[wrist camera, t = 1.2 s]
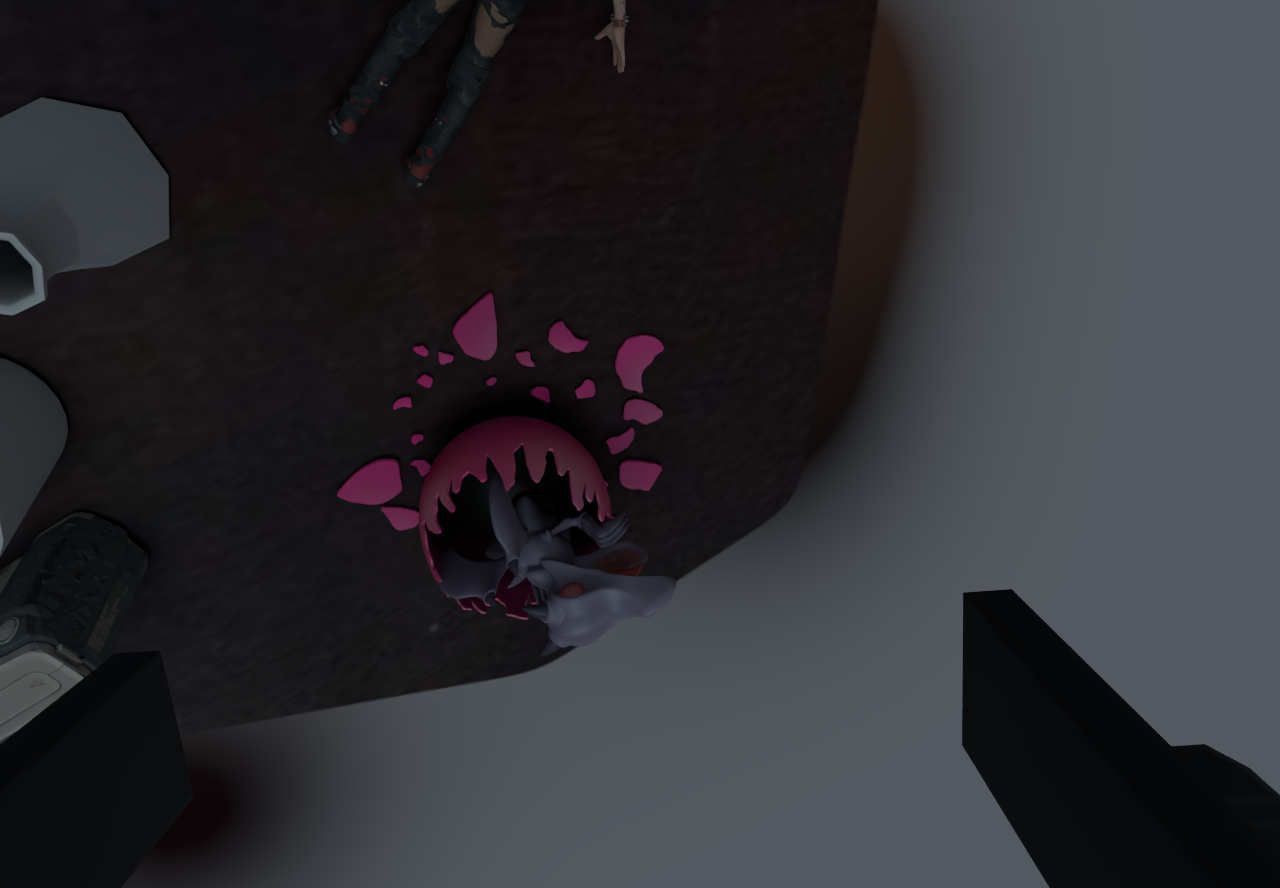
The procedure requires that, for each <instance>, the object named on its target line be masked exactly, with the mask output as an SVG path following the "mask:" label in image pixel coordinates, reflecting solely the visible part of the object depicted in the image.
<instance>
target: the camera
mask: <svg viewBox="0 0 1280 888" xmlns="http://www.w3.org/2000/svg"><path fill="white" fill-rule="evenodd" d="M127 537H128V532H127V531H126V530H124V529H122V528H121V527H119V526H118V525H116V524H115V525H114V524H113V523H111V522H108V521H106V520H104V519H102V518H100V517H98V516H96V515H94V514H90V513H86V512H75V513H72V514H70V515H69V516H67V517H65V518H64V519H62V520H61V521H59V522H57V523H56V524H54V525H53V526H51V527H49V528H48V529H46V530H45V531H43V532H42V533H41V534H39V535H38V536H37V537H36V538H35V539H34V541H33V542H32V543H31V545H30V547H29V548H28V550H27V551H26V553H25V554H24V555H23V556H21V557H20V558H18V559H17V560H15V561H13V562H12V563H10V564H9V565H7V566H6V567H4V568H2V569H1V570H0V744H1V743H3V742H4V741H5V740H6V739H8V738H9V737H10V736H11V735H13V734H14V733H15V732H16V731H18V730H19V729H20V728H22V727H23V726H24V725H25V724H27V723H28V722H29V721H30V720H32V719H33V718H34V717H35V716H37V715H38V714H39V713H40V712H42V711H43V710H44V709H45V708H47V707H48V706H49V705H51V704H52V703H53V702H54V701H56V700H57V699H58V698H59V697H61V696H62V695H63V694H64V693H66V692H67V691H68V690H69V689H71V688H72V687H73V686H74V685H76V684H77V683H78V682H80V681H81V680H82V679H83V678H85V677H86V676H87V675H88V674H90V673H91V672H92V671H93V670H95V669H96V668H97V667H98V666H100V665H101V664H102V663H103V662H105V661H106V660H107V659H109V657H110V655H111V654H112V651H113V649H114V643H115V642H116V641H117V639H118V637H119V635H120V633H121V629H122V627H123V625H124V623H125V620H126V618H127V616H128V612H129V611H130V610H131V605H132V602H133V600H134V597H135V594H136V590H137V589H138V587H139V585H140V583H141V581H142V579H143V577H144V573H145V571H146V569H147V567H148V558H147V551H145V552H144V551H143V550H142V549H140V548H139V547H138V546H137V545H136V544H135V543H133V542H132V541H131V540H130V539H129V538H127Z"/></svg>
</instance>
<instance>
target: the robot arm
mask: <svg viewBox="0 0 1280 888" xmlns="http://www.w3.org/2000/svg"><path fill="white" fill-rule="evenodd" d="M962 714H963V715H962V718H963V719H962V745H963V747H964V749H965V750H966V752H967V753H968V755H969V757H970V759H971V760H972V762H973V763H974V765H975V766H976V768H977V770H978V771H979V773H980V775H981V776H982V778H983V780H984V781H985V783H986V785H987V786H988V788H989V790H990V791H991V793H992V794H993V796H994V798H995V799H996V801H997V803H998V804H999V806H1000V807H1001V809H1002V811H1003V812H1004V814H1005V816H1006V817H1007V819H1008V821H1009V822H1010V824H1011V825H1012V827H1013V829H1014V830H1015V832H1016V833H1017V835H1018V837H1019V839H1020V840H1021V842H1022V843H1023V845H1024V847H1025V848H1026V850H1027V852H1028V853H1029V855H1030V857H1031V858H1032V860H1033V861H1034V863H1035V865H1036V866H1037V868H1038V870H1039V871H1040V872H1041V874H1042V876H1043V878H1044V879H1045V881H1046V883H1047V884H1048V886H1049V888H1280V795H1279V794H1278V793H1277V792H1276V791H1275V790H1273V789H1272V788H1271V787H1270V786H1269V785H1268V784H1266V782H1265V781H1263V780H1262V779H1261V778H1260V777H1259V776H1257V774H1255V773H1254V772H1253V771H1252V770H1251V769H1250V768H1248V767H1246V766H1245V765H1243V764H1241V763H1239V762H1237V761H1235V760H1233V759H1231V758H1230V757H1227V756H1226V755H1224V754H1222V753H1220V752H1218V751H1216V750H1214V749H1213V748H1211V747H1209V746H1207V745H1205V744H1202V745H1187V746H1170V745H1169V744H1168V743H1167V742H1166V741H1165V740H1164V739H1163V738H1162V737H1161V736H1160V735H1159V734H1158V733H1157V732H1156V731H1155V730H1154V729H1153V728H1152V727H1151V726H1150V725H1149V724H1148V723H1147V722H1146V721H1145V720H1144V719H1143V718H1142V717H1141V716H1140V715H1139V714H1138V713H1137V712H1136V711H1135V710H1134V709H1133V708H1132V707H1131V706H1130V705H1128V703H1127V702H1126V701H1125V700H1124V699H1123V698H1121V697H1120V695H1118V694H1117V693H1116V692H1115V691H1114V690H1113V689H1112V688H1111V687H1110V686H1109V685H1108V684H1107V683H1106V682H1105V681H1104V680H1103V679H1102V678H1101V677H1100V676H1099V675H1098V674H1097V673H1096V672H1095V671H1094V670H1093V669H1092V668H1091V667H1090V666H1089V665H1088V664H1087V663H1086V662H1085V661H1084V660H1083V659H1082V658H1081V657H1080V656H1079V655H1078V654H1077V653H1076V652H1075V651H1074V650H1073V649H1072V648H1071V647H1070V646H1069V645H1068V644H1066V642H1065V641H1063V639H1061V638H1060V637H1059V636H1058V635H1057V634H1056V633H1055V632H1054V631H1053V630H1052V629H1051V628H1050V627H1049V626H1048V625H1047V624H1046V623H1045V622H1044V621H1043V620H1042V619H1041V618H1040V617H1039V616H1038V615H1037V614H1036V613H1035V612H1034V611H1033V610H1032V609H1031V608H1030V607H1029V606H1028V605H1027V604H1026V603H1025V602H1024V601H1023V600H1022V599H1021V598H1020V597H1019V596H1018V595H1017V594H1016V593H1015V592H1014V591H1013V590H1012V589H1009V590H995V591H981V592H968V593H963V710H962ZM193 797H194V795H193V790H192V786H191V782H190V777H189V773H188V769H187V764H186V760H185V756H184V751H183V747H182V743H181V739H180V734H179V730H178V726H177V721H176V717H175V713H174V709H173V704H172V700H171V696H170V691H169V687H168V683H167V678H166V674H165V670H164V666H163V661H162V657H161V653H160V651H147V652H133V653H120V654H114V655H112V656H111V657H110V658H109V659H107V660H106V661H105V662H103V663H102V664H101V665H100V666H98V667H97V668H96V669H95V670H93V671H92V672H91V673H90V674H88V675H87V676H86V677H85V678H83V679H82V680H81V681H80V682H78V683H77V684H76V685H74V686H73V687H72V688H71V689H69V690H68V691H67V692H66V693H64V694H63V695H62V696H61V697H59V698H58V699H57V700H56V701H54V702H53V703H52V704H51V705H49V706H48V707H47V708H45V709H44V710H43V711H42V712H40V713H39V714H38V715H37V716H35V717H34V718H33V719H32V720H30V721H29V722H28V723H27V724H25V725H24V726H23V727H22V728H20V729H19V730H18V731H16V732H15V733H14V734H13V735H11V736H10V737H9V738H8V739H6V740H5V741H4V742H3V743H1V744H0V888H121V887H122V886H123V885H124V883H125V882H126V881H127V880H128V878H129V877H130V876H131V875H132V873H133V872H134V871H135V870H136V868H137V867H138V866H139V865H140V864H141V862H142V861H143V860H144V859H145V857H146V856H147V854H149V852H150V851H151V850H152V849H153V847H154V846H155V845H156V843H157V842H158V841H159V840H160V838H161V837H162V836H163V835H164V834H165V832H166V831H167V830H168V829H169V827H170V826H171V825H172V824H173V822H174V821H175V820H176V819H177V817H178V816H179V815H180V814H181V812H182V811H183V810H184V809H185V807H186V806H187V805H188V803H189V802H190V801H191V800H192V799H193Z"/></svg>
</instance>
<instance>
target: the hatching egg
mask: <svg viewBox="0 0 1280 888" xmlns="http://www.w3.org/2000/svg"><path fill="white" fill-rule="evenodd" d="M453 335H454V337H455V339H456V340H457V342H458V343H459V345H460V346H461V348H462V350H463V351H464V353H466V354H467V355H469V356H472V357H475V358H478V359H482V360H489V359H490V358H491V357H492V356H493V355H494V353H495V351H496V348H497V323H496V316H495V307H494V301H493V295H492V293H491V292H489V293H488V294H486V295H485V296H484V297H482V298H481V299H480V300H479V301H478V302H477V303H475V304H474V305H473V306H472V307H471V308H470V309H469V310H468V311H467V312H466V313H465V314H464V315H462V316H461V317H460V318H459V320H458V321H457V322H456V324H455V325H454V327H453ZM548 340H549V342H550V344H552V345H553V346H554V348H556V349H558V350H560V351H562V352H566V353H570V352H573V351H575V352H579V351H582V350H583V349H584V347H585V345H587V344H588V341H587V340H581V339H579V338H576V337H575V336H574V335H573V334H572V332H571V331H570V330H569V329H568V328H567V327H566V326H565V324H564V322H563V321H560V322H556V323H555V324H553V325H552V326H551V328H550V330H549V337H548ZM413 349H414V351H415V352H416V353H417V354H420V355H422V356H427V355H428V350H427V349H426V348H425V347H424V346H423V345H421V346H415V347H413ZM663 350H664V346H663V344H662V342H661V341H660V340H659V339H658V338H656V337H654V336H651V335H647V334H641V335H637V336H632V337H628V338H627V339H625V341H624V342H623V344H622V345H621V347H620V348H619V349H618V351H617V355H616V359H615V370H616V373H617V374H618V375H619V377H620V379H621V382H622V384H623V386H624V387H625V388H626V389H629V390H635V391H638V392H639V393H642V392H643V388H642V385H641V379H642V373H643V370H644V369H645V368H646V367H647V366H648V365H649V364H650V363H651V362H652V361H653V358H654V357H655V356H656V355H657V354H658V353H660V352H662V351H663ZM438 353H439V362H440V363H441V364H442V365H443V364H445V363H450V362H452V361H453V356H452V355H451V354H446V353H443V352H441V351H439V352H438ZM515 355H516V357H517V359H518V361H519V362H520V363H521V364H523V365H526V366H530V367H534V365H535V364H534V362H533V361H532V360H531V359H530V352H529V351H524V352H518V353H515ZM417 382H418V383H419V384H421V385H422V386H424V387H426V388H429V387H431V385H432V382H433V380H432V378H431V377H430V376H427V375H426V374H424V375H422V376H421V377H420V378H419V379H418V380H417ZM495 382H496V378H495V377H491V378H490V379H488V380H487V381H486V383H487V385H488V386H492V385H493V384H494V383H495ZM531 393H532V395H533V396H535V397H537V398H539V399H541V400H543V401H546V402H548V403H550V397H549V391H548V389H547V388H545V387H536V388H534V389H532V390H531ZM575 393H576V395H577V398H578V399H582V398H588V397H592V396H593V395H594V394H595V386H594V382H593V381H592V380H590V379H585V380H584V382H583V383H582V384H581V386H580V387H578V388H576V389H575ZM399 407H412V404H411V398H410V397H403V398H399V399H398V400H397V401H396V402H395V403H394V406H393V408H394V410H396V409H397V408H399ZM662 415H663V413H662V411H661V409H659V408H658V407H657V406H656V405H654V404H653V403H651V402H649V401H645V400H642V399H637V398H635V399H631V400H628V401H626V403H625V405H624V413H623V418H624V419H625V420H630V419H635V420H638V421H639V422H641V423H642V424H649V423H651V422H654V421H656V420H658V419H660V418H661V417H662ZM633 438H634V429H633V428H632V427H630V428H629V429H628V430H627V431H626V432H624V433H622V434H621V435H619V436H615V437H610V438H608V439H607V440H606V442H607V444H608V446H609V449H610V452H611V453H612V454H616V453H619V452H621V451H622V450H624V449H625V448H627V447H628V446H629V445H630V443H631V442H632V440H633ZM421 440H423V435H422V434H414V435H413V436H412V443H413V444H417V443H418V442H419V441H421ZM410 465H413V466H416V467H417V468H418V471H419V472H420V475H421V476H424V475H426V474H427V473H428V474H427V476H426V479H425V482H424V485H423V489H422V493H421V499H420V507H419V512H418V511H416V510H412V509H408V508H404V507H390V506H389V507H381V509H382V511H383V512H384V514H385V515H386V516H387V518H388V519H389V520H390V522H391V524H392V525H393V526H394V527H395V528H396V529H397V530H405V529H409V528H414V527H415V526H417V525H418V523H419V529H420V536H421V541H422V545H423V549H424V553H425V556H426V559H427V562H428V564H429V567H430V569H431V571H432V574H433V576H434V578H435V580H436V581H438V584H439V586H440V588H441V590H442V591H443V592H444V593H445V594H446V595H447V597H448V596H450V597H452V598H455V599H456V601H457V602H458V603H459V605H460V606H461V608H462V609H463V610H470V611H471V610H472V609H473V608H472V605H473V606H474V607H475V608H476V609H477V610H478V611H479V612H480V613H482V614H486V613H487V607H486V605H487V606H497V603H496V601H495V600H498V601H499V602H500V603H501V604H503V605H504V606H505V607H506V615H507V616H513V617H517V618H519V619H525V620H526V619H528V614H530V615H532V616H534V617H536V618H538V619H541V620H542V621H543V622H544V623H547V625H548V627H549V629H548V636H547V639H546V641H545V644H544V646H543V648H542V650H541V652H540V654H539V656H545V655H548V654H550V653H552V652H554V651H556V650H558V649H559V648H561V647H567V646H570V645H573V646H586V645H589V644H591V643H593V642H594V641H596V640H597V639H598V638H599V637H600V636H601V635H602V634H603V633H604V632H606V631H607V630H608V629H609V628H611V627H612V626H613V625H615V624H616V623H618V622H620V621H622V620H625V619H628V618H631V617H645V618H648V617H650V616H652V615H654V614H655V613H657V612H658V611H659V610H661V609H662V608H663V607H664V606H666V605H667V603H668V602H669V601H670V600H671V598H672V596H673V594H674V591H675V588H676V580H675V579H673V578H671V577H666V576H637V575H638V574H639V573H640V571H641V569H642V564H643V563H645V562H646V561H647V559H648V555H647V553H646V552H645V551H644V550H643V549H642V548H641V547H639V546H638V545H636V544H634V543H633V542H630V541H627V540H624V539H621V542H617V543H615V542H616V541H617V540H618V539H619V538H620V537H621V536H622V535H623V534H624V532H625V531H626V529H627V528H628V526H629V522H627V523H626V521H627V517H625V518H624V516H625V514H626V512H625V511H624V512H622V513H621V514H619V515H618V516H616V517H615V516H612V514H611V506H610V500H609V495H608V491H607V488H606V487H607V486H608V483H607V482H606V481H604V479H603V476H602V474H601V472H600V470H599V468H598V466H597V464H596V462H595V460H594V458H593V457H592V456H591V454H590V453H589V452H588V451H587V449H586V448H585V447H584V446H583V445H582V444H581V443H580V442H579V441H578V440H577V439H575V438H574V437H573V436H572V435H570V434H569V433H568V432H566V431H565V430H563V429H562V428H560V427H558V426H556V425H554V424H552V423H549V422H547V421H543V420H540V419H536V418H531V417H522V416H507V417H498V418H494V419H489V420H486V421H483V422H481V423H478V424H476V425H474V426H472V427H470V428H468V429H466V430H465V431H463V432H462V433H460V434H459V435H457V436H456V437H455V438H454V439H453V440H451V441H450V442H449V443H448V444H447V445H446V446H445V447H444V449H443V450H442V451H441V452H440V453H439V455H438V456H437V457H436V459H435V460H434V462H433V464H432V466H430V465H429V463H428V462H427V461H425V460H414V461H413V462H412V463H410ZM661 471H662V466H661V465H659V464H657V463H655V462H646V461H642V460H634V459H630V460H625V461H623V462H621V463H620V466H619V478H620V482H621V484H622V485H623V486H624V487H626V488H628V489H642V490H645V491H648V490H650V488H651V487H652V485H653V483H654V482H655V480H656V479H657V477H658V475H659V474H660V472H661ZM401 491H402V480H401V476H400V469H399V462H398V461H397V460H394V459H380V460H376V461H373V462H371V463H369V464H367V465H365V466H363V467H362V468H360V469H359V470H358V471H356V472H355V473H354V474H353V475H352V476H351V477H350V478H349V479H348V480H347V481H346V482H345V483H344V484H343V485H342V486H341V487H340V489H339V490H338V491H337V496H338V497H339V498H341V499H344V500H347V501H350V502H354V503H362V504H368V505H377V504H382V503H385V502H387V501H388V500H390V499H392V498H393V497H395V496H396V495H397V494H399V493H400V492H401ZM625 523H626V524H625ZM528 595H529V597H530V601H531V604H537V605H533V606H528V607H525V605H526V604H527V601H528ZM541 598H542V602H541ZM527 613H528V614H527Z"/></svg>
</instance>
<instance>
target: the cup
mask: <svg viewBox="0 0 1280 888" xmlns="http://www.w3.org/2000/svg"><path fill="white" fill-rule="evenodd" d="M67 435H68V425H67V417H66V414H65V412H64V410H63V408H62V405H61V403H60V401H59V399H58V398H57V397H56V396H55V394H54V393H53V392H52V391H51V390H50V388H49V387H48V386H47V385H46V384H45V382H43V381H42V380H41V379H39V378H38V377H37V376H36V375H34V374H33V373H32V372H30V371H29V370H27V369H25V368H23V367H22V366H20V365H18V364H16V363H14V362H12V361H10V360H7V359H3V358H0V557H1V555H2V553H3V552H4V550H5V548H6V547H7V545H8V543H9V542H10V540H11V538H12V536H13V535H14V533H15V531H16V530H17V528H18V526H19V525H20V523H21V521H22V520H23V518H24V516H25V515H26V513H27V511H28V510H29V508H30V506H31V504H32V503H33V501H34V499H35V498H36V496H37V494H38V493H39V491H40V489H41V488H42V486H43V484H44V483H45V481H46V479H47V478H48V476H49V474H50V472H51V471H52V469H53V467H54V466H55V464H56V462H57V461H58V459H59V457H60V456H61V454H62V451H63V449H64V447H65V443H66V439H67Z"/></svg>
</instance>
